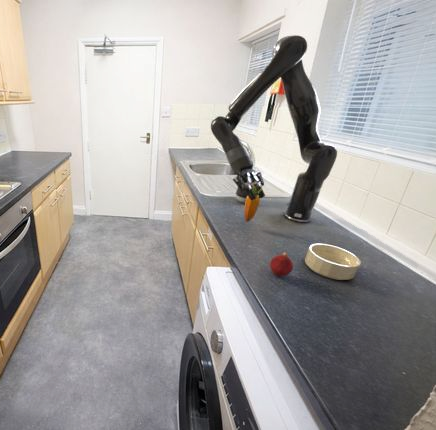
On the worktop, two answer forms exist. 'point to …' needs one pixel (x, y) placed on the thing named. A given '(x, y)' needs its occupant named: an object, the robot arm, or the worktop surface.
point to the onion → (281, 265)
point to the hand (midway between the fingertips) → (258, 198)
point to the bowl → (332, 261)
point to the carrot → (251, 205)
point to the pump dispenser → (242, 194)
